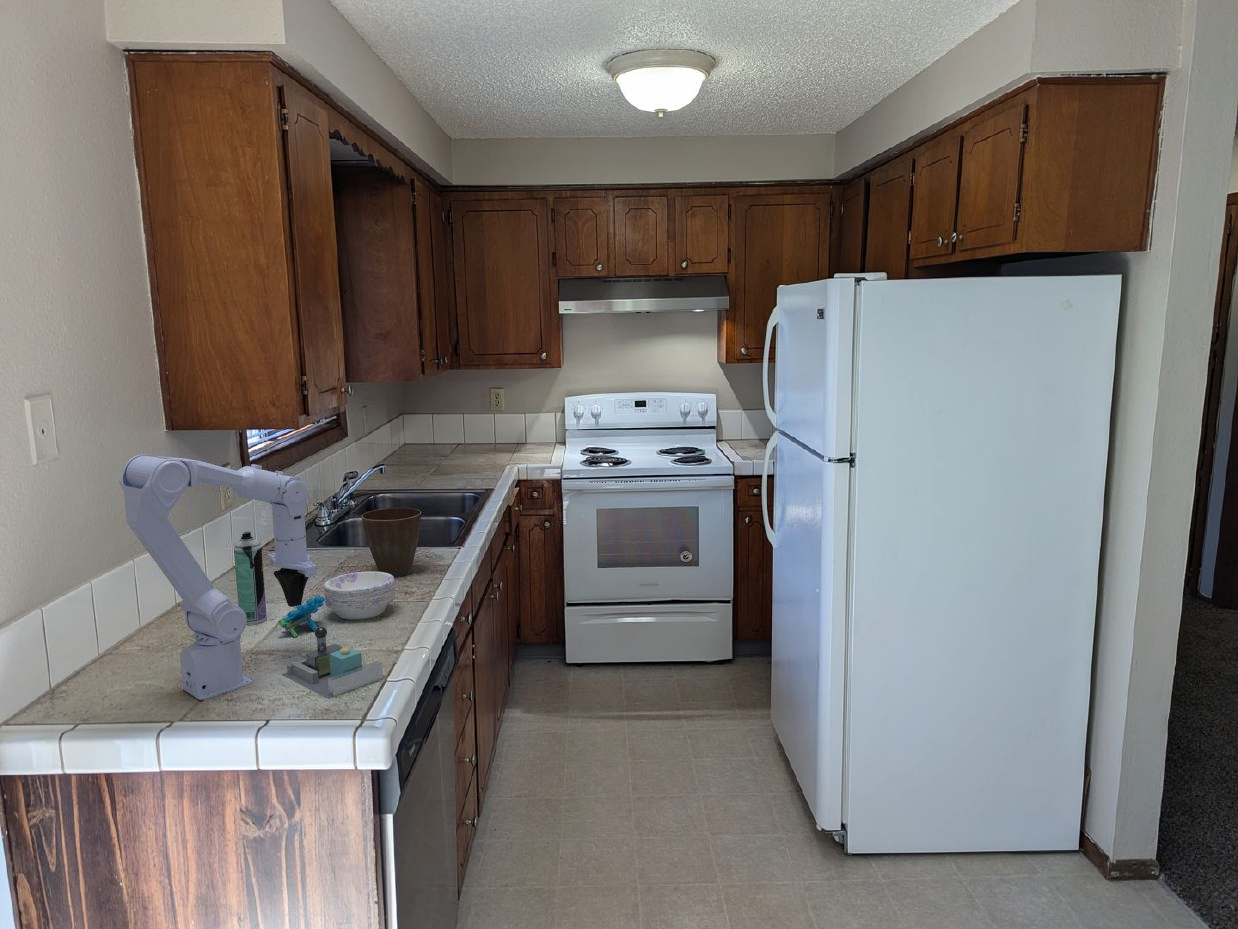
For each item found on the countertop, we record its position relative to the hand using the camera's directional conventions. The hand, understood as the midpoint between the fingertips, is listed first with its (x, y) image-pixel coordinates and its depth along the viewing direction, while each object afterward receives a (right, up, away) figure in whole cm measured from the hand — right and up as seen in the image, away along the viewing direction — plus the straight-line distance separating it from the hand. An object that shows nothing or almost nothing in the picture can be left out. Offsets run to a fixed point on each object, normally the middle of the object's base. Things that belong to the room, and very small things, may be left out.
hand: (294, 605), depth 164 cm
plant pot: (+4, -1, +56) cm, 56 cm away
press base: (+10, -12, -8) cm, 18 cm away
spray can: (-17, -7, +21) cm, 28 cm away
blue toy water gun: (-5, -8, +16) cm, 18 cm away
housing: (+14, -12, -11) cm, 21 cm away
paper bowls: (+5, -6, +26) cm, 27 cm away
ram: (+8, -11, -7) cm, 16 cm away
